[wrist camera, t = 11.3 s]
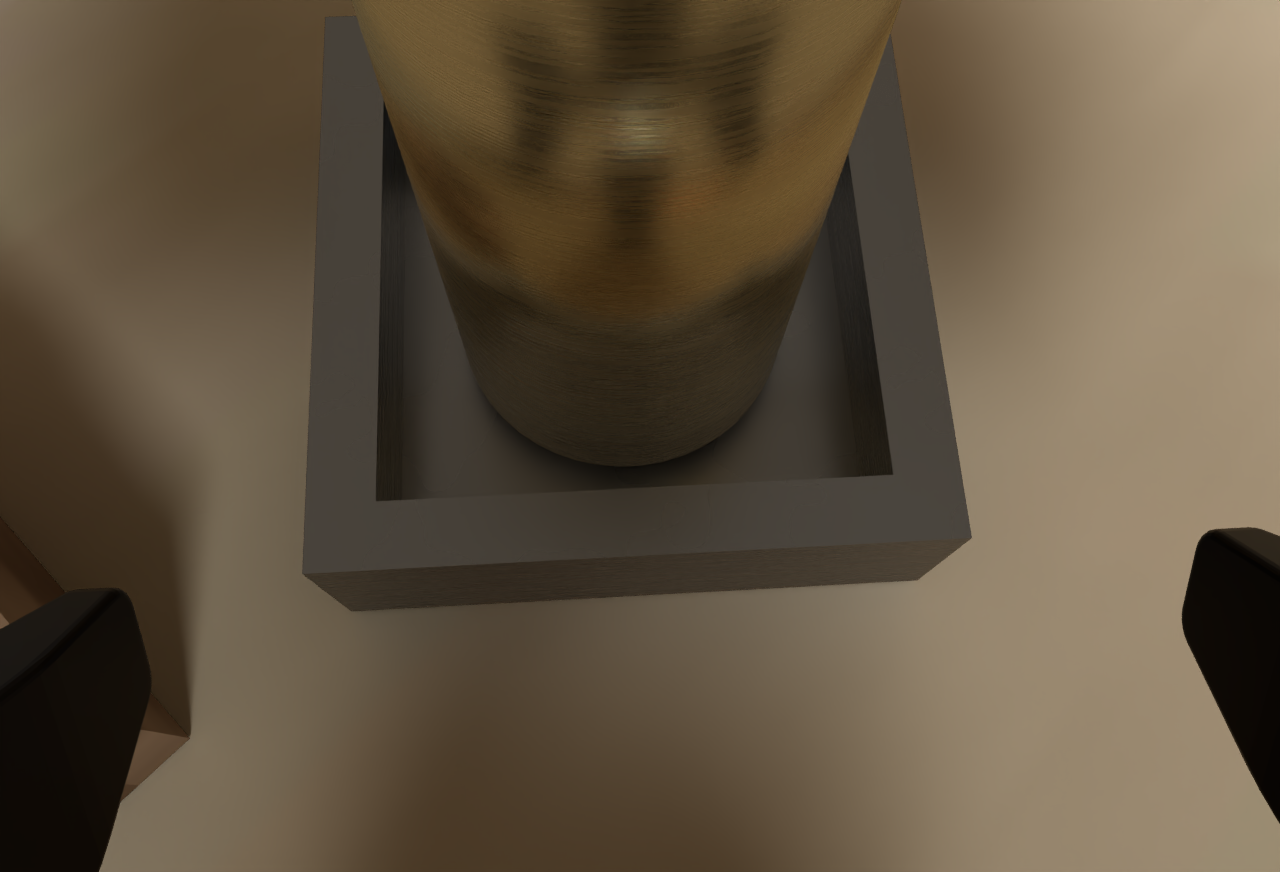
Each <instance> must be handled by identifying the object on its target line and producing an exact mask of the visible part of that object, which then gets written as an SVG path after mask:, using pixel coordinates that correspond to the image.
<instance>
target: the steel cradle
mask: <svg viewBox="0 0 1280 872" xmlns="http://www.w3.org/2000/svg"><path fill="white" fill-rule="evenodd" d="M971 538H972V536H971V530H970V524H969V518H968V511H967V505H966V499H965V493H964V487H963V480H962V474H961V468H960V462H959V456H958V449H957V443H956V437H955V431H954V425H953V419H952V412H951V406H950V400H949V394H948V388H947V381H946V375H945V369H944V363H943V357H942V350H941V344H940V338H939V332H938V326H937V319H936V313H935V307H934V301H933V295H932V288H931V282H930V276H929V270H928V264H927V257H926V251H925V245H924V239H923V233H922V226H921V220H920V214H919V208H918V202H917V195H916V189H915V183H914V177H913V171H912V164H911V158H910V152H909V146H908V140H907V134H906V127H905V121H904V115H903V109H902V103H901V96H900V90H899V84H898V78H897V72H896V65H895V59H894V53H893V47H892V41H891V34H890V35H889V38H888V41H887V44H886V46H885V49H884V52H883V55H882V58H881V61H880V64H879V66H878V69H877V72H876V75H875V78H874V81H873V83H872V86H871V89H870V92H869V95H868V98H867V100H866V103H865V106H864V109H863V112H862V115H861V118H860V120H859V123H858V126H857V129H856V132H855V135H854V137H853V140H852V143H851V146H850V149H849V152H848V155H847V157H846V160H845V163H844V166H843V169H842V172H841V174H840V177H839V180H838V183H837V186H836V189H835V191H834V194H833V197H832V200H831V203H830V206H829V209H828V211H827V214H826V217H825V220H824V223H823V226H822V228H821V231H820V234H819V237H818V240H817V243H816V246H815V248H814V251H813V254H812V257H811V260H810V263H809V265H808V268H807V271H806V274H805V277H804V280H803V282H802V285H801V288H800V291H799V294H798V297H797V300H796V302H795V305H794V308H793V311H792V314H791V317H790V319H789V322H788V325H787V328H786V331H785V334H784V337H783V339H782V342H781V345H780V348H779V351H778V354H777V356H776V359H775V362H774V365H773V368H772V371H771V373H770V376H769V378H768V380H767V382H766V383H765V385H764V387H763V389H762V391H761V393H760V394H759V396H758V397H757V399H756V400H755V401H754V403H753V404H752V406H751V407H750V408H749V409H748V411H747V412H746V413H745V414H744V415H743V416H742V417H741V418H740V419H739V420H738V421H737V422H736V423H735V424H734V425H733V426H732V427H730V428H729V429H728V430H727V431H725V432H724V433H723V434H722V435H721V436H719V437H717V438H716V439H714V440H713V441H711V442H709V443H708V444H706V445H705V446H703V447H701V448H699V449H697V450H694V451H692V452H690V453H688V454H685V455H683V456H680V457H677V458H674V459H670V460H667V461H664V462H659V463H653V464H647V465H642V466H621V467H618V466H605V465H596V464H591V463H586V462H581V461H576V460H573V459H570V458H568V457H565V456H562V455H559V454H556V453H554V452H552V451H550V450H548V449H546V448H544V447H542V446H540V445H538V444H536V443H534V442H533V441H531V440H530V439H528V438H527V437H525V436H524V435H522V434H521V433H519V432H518V431H517V430H516V429H515V428H514V427H512V426H511V425H510V424H509V423H508V422H507V421H506V420H505V419H503V417H502V416H501V415H500V414H499V413H498V412H497V411H496V409H495V408H494V407H493V406H492V405H491V404H490V402H489V401H488V399H487V398H486V396H485V394H484V393H483V391H482V390H481V388H480V387H479V385H478V383H477V380H476V378H475V376H474V374H473V372H472V370H471V367H470V364H469V361H468V358H467V355H466V352H465V349H464V346H463V343H462V339H461V336H460V333H459V330H458V327H457V324H456V321H455V318H454V315H453V312H452V309H451V306H450V303H449V300H448V296H447V293H446V290H445V287H444V284H443V281H442V278H441V275H440V272H439V269H438V266H437V263H436V260H435V256H434V253H433V250H432V247H431V244H430V241H429V238H428V235H427V232H426V229H425V226H424V223H423V220H422V217H421V213H420V210H419V207H418V204H417V201H416V198H415V195H414V192H413V189H412V186H411V183H410V180H409V177H408V173H407V170H406V167H405V164H404V161H403V158H402V155H401V152H400V149H399V146H398V143H397V140H396V137H395V134H394V130H393V127H392V124H391V121H390V118H389V115H388V112H387V109H386V106H385V103H384V100H383V97H382V94H381V90H380V87H379V84H378V81H377V78H376V75H375V72H374V69H373V66H372V63H371V60H370V57H369V54H368V50H367V47H366V44H365V41H364V38H363V35H362V32H361V29H360V26H359V23H358V20H357V17H356V16H342V17H325V37H324V61H323V86H322V110H321V134H320V158H319V183H318V207H317V231H316V256H315V280H314V304H313V329H312V353H311V377H310V401H309V426H308V450H307V474H306V499H305V523H304V547H303V571H302V574H303V575H305V576H306V577H307V578H308V579H310V580H311V581H312V582H314V583H315V584H316V585H318V586H319V587H320V588H321V589H323V590H324V591H325V592H327V593H328V594H329V595H331V596H332V597H333V598H335V599H336V600H337V601H338V602H340V603H341V604H342V605H344V606H345V607H346V608H348V609H349V610H350V611H366V610H384V609H402V608H421V607H439V606H457V605H475V604H493V603H511V602H530V601H548V600H566V599H584V598H602V597H620V596H639V595H657V594H675V593H693V592H711V591H730V590H748V589H766V588H784V587H802V586H820V585H839V584H857V583H875V582H893V581H911V580H918V579H920V578H921V577H922V576H923V575H925V574H926V573H927V572H929V571H930V570H931V569H932V568H934V567H935V566H936V565H938V564H939V563H940V562H941V561H943V560H944V559H945V558H947V557H948V556H949V555H951V554H952V553H953V552H954V551H956V550H957V549H958V548H960V547H961V546H962V545H963V544H965V543H966V542H967V541H969V540H970V539H971Z"/></svg>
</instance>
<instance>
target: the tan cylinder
mask: <svg viewBox="0 0 1280 872" xmlns="http://www.w3.org/2000/svg"><path fill="white" fill-rule="evenodd" d="M351 1H352V4H353V7H354V11H355V14H356V17H357V20H358V23H359V26H360V29H361V32H362V35H363V38H364V41H365V44H366V47H367V50H368V54H369V57H370V60H371V63H372V66H373V69H374V72H375V75H376V78H377V81H378V84H379V87H380V90H381V94H382V97H383V100H384V103H385V106H386V109H387V112H388V115H389V118H390V121H391V124H392V127H393V130H394V134H395V137H396V140H397V143H398V146H399V149H400V152H401V155H402V158H403V161H404V164H405V167H406V170H407V173H408V177H409V180H410V183H411V186H412V189H413V192H414V195H415V198H416V201H417V204H418V207H419V210H420V213H421V217H422V220H423V223H424V226H425V229H426V232H427V235H428V238H429V241H430V244H431V247H432V250H433V253H434V256H435V260H436V263H437V266H438V269H439V272H440V275H441V278H442V281H443V284H444V287H445V290H446V293H447V296H448V300H449V303H450V306H451V309H452V312H453V315H454V318H455V321H456V324H457V327H458V330H459V333H460V336H461V339H462V343H463V346H464V349H465V352H466V355H467V358H468V361H469V364H470V367H471V370H472V372H473V374H474V376H475V378H476V380H477V383H478V385H479V387H480V388H481V390H482V391H483V393H484V394H485V396H486V398H487V399H488V401H489V402H490V404H491V405H492V406H493V407H494V408H495V409H496V411H497V412H498V413H499V414H500V415H501V416H502V417H503V419H505V420H506V421H507V422H508V423H509V424H510V425H511V426H512V427H514V428H515V429H516V430H517V431H518V432H519V433H521V434H522V435H524V436H525V437H527V438H528V439H530V440H531V441H533V442H534V443H536V444H538V445H540V446H542V447H544V448H546V449H548V450H550V451H552V452H554V453H556V454H559V455H562V456H565V457H568V458H570V459H573V460H576V461H581V462H586V463H591V464H596V465H605V466H618V467H621V466H642V465H647V464H653V463H659V462H664V461H667V460H670V459H674V458H677V457H680V456H683V455H685V454H688V453H690V452H692V451H694V450H697V449H699V448H701V447H703V446H705V445H706V444H708V443H709V442H711V441H713V440H714V439H716V438H717V437H719V436H721V435H722V434H723V433H724V432H725V431H727V430H728V429H729V428H730V427H732V426H733V425H734V424H735V423H736V422H737V421H738V420H739V419H740V418H741V417H742V416H743V415H744V414H745V413H746V412H747V411H748V409H749V408H750V407H751V406H752V404H753V403H754V401H755V400H756V399H757V397H758V396H759V394H760V393H761V391H762V389H763V387H764V385H765V383H766V382H767V380H768V378H769V376H770V373H771V371H772V368H773V365H774V362H775V359H776V356H777V354H778V351H779V348H780V345H781V342H782V339H783V337H784V334H785V331H786V328H787V325H788V322H789V319H790V317H791V314H792V311H793V308H794V305H795V302H796V300H797V297H798V294H799V291H800V288H801V285H802V282H803V280H804V277H805V274H806V271H807V268H808V265H809V263H810V260H811V257H812V254H813V251H814V248H815V246H816V243H817V240H818V237H819V234H820V231H821V228H822V226H823V223H824V220H825V217H826V214H827V211H828V209H829V206H830V203H831V200H832V197H833V194H834V191H835V189H836V186H837V183H838V180H839V177H840V174H841V172H842V169H843V166H844V163H845V160H846V157H847V155H848V152H849V149H850V146H851V143H852V140H853V137H854V135H855V132H856V129H857V126H858V123H859V120H860V118H861V115H862V112H863V109H864V106H865V103H866V100H867V98H868V95H869V92H870V89H871V86H872V83H873V81H874V78H875V75H876V72H877V69H878V66H879V64H880V61H881V58H882V55H883V52H884V49H885V46H886V44H887V41H888V38H889V35H890V32H891V29H892V27H893V24H894V21H895V18H896V15H897V12H898V9H899V7H900V4H901V1H902V0H351Z"/></svg>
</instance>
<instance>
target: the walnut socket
mask: <svg viewBox="0 0 1280 872" xmlns="http://www.w3.org/2000/svg"><path fill="white" fill-rule="evenodd" d="M64 593H65V592H64V591H63V590H62V589H61V587H60V586H59V585H58V584H57V583H56V581H55V580H54V579H53V578H52V577H51V576H50V574H49V573H48V572H47V571H46V570H45V569H44V567H43V566H42V565H41V564H40V563H39V562H38V560H37V559H36V558H35V557H34V556H33V555H32V553H31V552H30V551H29V550H28V549H27V548H26V546H25V545H24V544H23V543H22V542H21V541H20V539H19V538H18V537H17V536H16V535H15V534H14V532H13V531H12V530H11V529H10V528H9V527H8V525H7V524H6V523H5V522H4V521H3V520H2V518H1V517H0V629H1V628H3V627H5V626H7V625H8V624H10V623H12V622H14V621H16V620H17V619H19V618H21V617H23V616H25V615H26V614H28V613H30V612H32V611H34V610H35V609H37V608H39V607H41V606H43V605H44V604H46V603H48V602H50V601H52V600H54V599H55V598H57V597H59V596H61V595H63V594H64ZM188 739H190V738H189V737H188V736H187V734H186V733H185V732H184V731H183V730H182V729H181V727H180V726H179V725H178V724H177V723H176V722H175V720H174V719H173V718H172V717H171V716H170V715H169V713H168V712H167V711H166V710H165V709H164V708H163V706H162V705H161V704H160V703H159V702H158V701H157V699H156V698H155V697H154V696H153V695H152V694H151V693H150V698H149V703H148V706H147V710H146V713H145V717H144V720H143V724H142V727H141V731H140V734H139V738H138V741H137V745H136V748H135V752H134V756H133V759H132V763H131V766H130V770H129V773H128V777H127V780H126V784H125V787H124V791H123V794H122V798H121V801H122V800H123V799H124V798H125V797H126V796H127V795H128V794H130V793H131V792H132V791H133V790H134V789H135V788H136V787H137V786H138V785H139V784H140V783H142V782H143V781H144V780H145V779H146V778H147V777H148V776H149V775H150V774H151V773H152V772H154V771H155V770H156V769H157V768H158V767H159V766H160V765H161V764H162V763H163V762H164V761H166V760H167V759H168V758H169V757H170V756H171V755H172V754H173V753H174V752H175V751H176V750H178V749H179V748H180V747H181V746H182V745H183V744H184V743H185V742H186V741H187V740H188ZM121 801H120V802H121Z"/></svg>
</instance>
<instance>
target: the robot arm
mask: <svg viewBox="0 0 1280 872" xmlns="http://www.w3.org/2000/svg"><path fill="white" fill-rule="evenodd" d="M1182 626H1183V631H1184V635H1185V638H1186V640H1187V643H1188V645H1189V647H1190V649H1191V651H1192V653H1193V655H1194V657H1195V659H1196V662H1197V664H1198V666H1199V668H1200V670H1201V672H1202V674H1203V676H1204V678H1205V680H1206V682H1207V684H1208V686H1209V688H1210V690H1211V693H1212V695H1213V697H1214V699H1215V701H1216V703H1217V705H1218V707H1219V709H1220V711H1221V713H1222V715H1223V717H1224V719H1225V721H1226V724H1227V726H1228V728H1229V730H1230V732H1231V734H1232V736H1233V738H1234V740H1235V742H1236V744H1237V746H1238V748H1239V750H1240V753H1241V755H1242V757H1243V759H1244V761H1245V763H1246V765H1247V767H1248V769H1249V771H1250V772H1251V774H1252V776H1253V778H1254V780H1255V782H1256V784H1257V786H1258V788H1259V790H1260V791H1261V793H1262V795H1263V797H1264V798H1265V800H1266V802H1267V803H1268V805H1269V807H1270V808H1271V810H1272V812H1273V814H1274V815H1275V817H1276V819H1277V820H1278V822H1279V823H1280V536H1278V535H1275V534H1273V533H1270V532H1267V531H1265V530H1262V529H1258V528H1251V527H1246V528H1228V529H1214V530H1210V531H1208V532H1207V533H1205V534H1204V535H1203V536H1202V537H1201V539H1200V540H1199V542H1198V545H1197V548H1196V551H1195V556H1194V560H1193V564H1192V569H1191V573H1190V578H1189V582H1188V586H1187V591H1186V595H1185V600H1184V604H1183V609H1182ZM150 693H151V671H150V666H149V662H148V659H147V655H146V651H145V648H144V644H143V640H142V637H141V633H140V629H139V626H138V622H137V618H136V615H135V611H134V608H133V605H132V602H131V600H130V598H129V596H128V595H127V593H125V592H124V591H122V590H121V589H119V588H97V589H77V590H72V591H69V592H66V593H64V594H63V595H61V596H59V597H57V598H55V599H54V600H52V601H50V602H48V603H46V604H44V605H43V606H41V607H39V608H37V609H35V610H34V611H32V612H30V613H28V614H26V615H25V616H23V617H21V618H19V619H17V620H16V621H14V622H12V623H10V624H8V625H7V626H5V627H3V628H1V629H0V872H99V870H100V867H101V864H102V862H103V859H104V855H105V852H106V849H107V846H108V843H109V840H110V837H111V833H112V830H113V826H114V823H115V819H116V816H117V812H118V808H119V805H120V801H121V798H122V794H123V791H124V787H125V784H126V780H127V777H128V773H129V770H130V766H131V763H132V759H133V756H134V752H135V748H136V745H137V741H138V738H139V734H140V731H141V727H142V724H143V720H144V717H145V713H146V710H147V706H148V703H149V698H150Z"/></svg>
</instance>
